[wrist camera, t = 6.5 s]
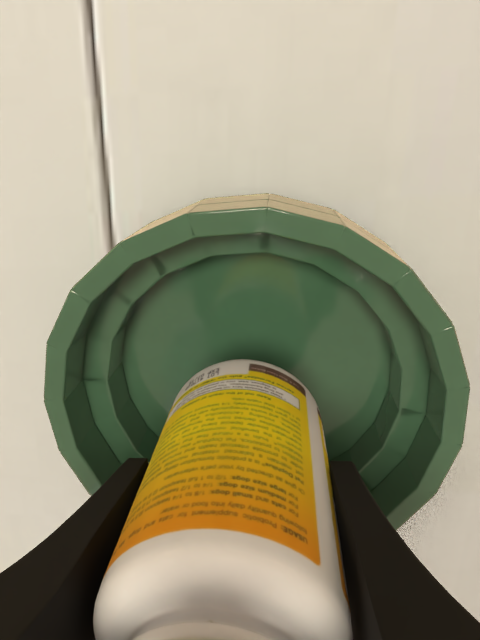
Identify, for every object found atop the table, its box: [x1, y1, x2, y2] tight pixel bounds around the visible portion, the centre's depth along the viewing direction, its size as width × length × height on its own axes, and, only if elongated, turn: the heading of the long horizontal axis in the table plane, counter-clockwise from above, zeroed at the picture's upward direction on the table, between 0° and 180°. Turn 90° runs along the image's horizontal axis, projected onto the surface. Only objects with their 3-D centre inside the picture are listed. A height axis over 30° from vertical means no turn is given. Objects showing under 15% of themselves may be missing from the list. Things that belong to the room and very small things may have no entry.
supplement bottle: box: [93, 359, 353, 640], centre depth 12 cm, size 6×6×10 cm
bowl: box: [44, 193, 470, 530], centre depth 18 cm, size 16×16×4 cm
